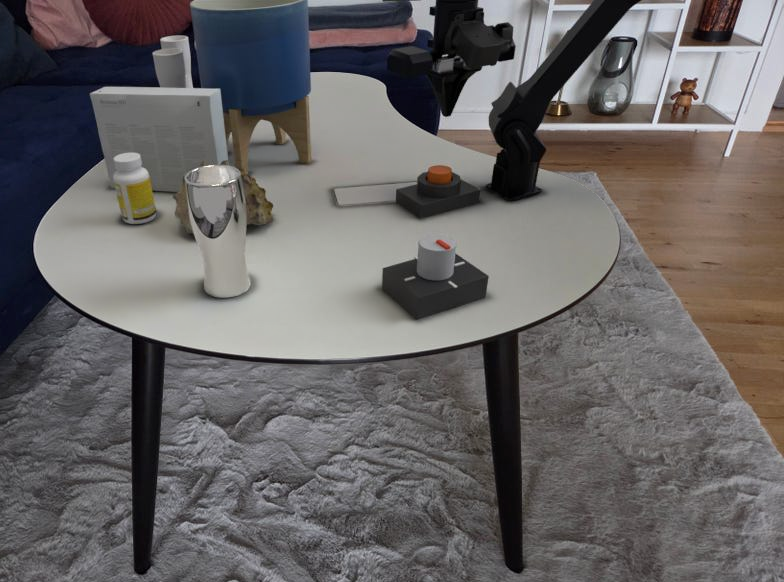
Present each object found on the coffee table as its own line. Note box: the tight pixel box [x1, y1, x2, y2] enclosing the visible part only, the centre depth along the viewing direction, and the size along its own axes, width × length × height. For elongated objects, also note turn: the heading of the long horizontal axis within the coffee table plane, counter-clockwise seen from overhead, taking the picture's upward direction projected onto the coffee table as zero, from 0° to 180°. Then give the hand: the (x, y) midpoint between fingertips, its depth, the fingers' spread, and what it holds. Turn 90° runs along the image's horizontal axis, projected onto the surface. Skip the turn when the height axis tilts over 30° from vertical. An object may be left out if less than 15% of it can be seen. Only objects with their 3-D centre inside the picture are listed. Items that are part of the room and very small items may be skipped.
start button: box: [427, 164, 453, 184], centre depth 97 cm, size 4×4×2 cm
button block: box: [395, 171, 482, 220], centre depth 99 cm, size 11×7×4 cm, turn 116°
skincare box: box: [89, 86, 230, 193], centre depth 106 cm, size 21×5×16 cm, turn 75°
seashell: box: [172, 159, 274, 235], centre depth 94 cm, size 11×14×10 cm
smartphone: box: [332, 181, 417, 208], centre depth 104 cm, size 7×1×15 cm
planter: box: [189, 0, 312, 174], centre depth 111 cm, size 19×19×26 cm
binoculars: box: [152, 35, 194, 88], centre depth 123 cm, size 17×5×18 cm, turn 4°
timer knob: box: [417, 233, 457, 281], centre depth 76 cm, size 4×4×4 cm
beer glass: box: [185, 164, 252, 299], centre depth 78 cm, size 7×7×15 cm
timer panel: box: [381, 253, 490, 320], centre depth 78 cm, size 10×9×3 cm
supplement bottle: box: [113, 153, 157, 225], centre depth 98 cm, size 5×5×10 cm
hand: (446, 116), depth 96 cm, fingers closed
